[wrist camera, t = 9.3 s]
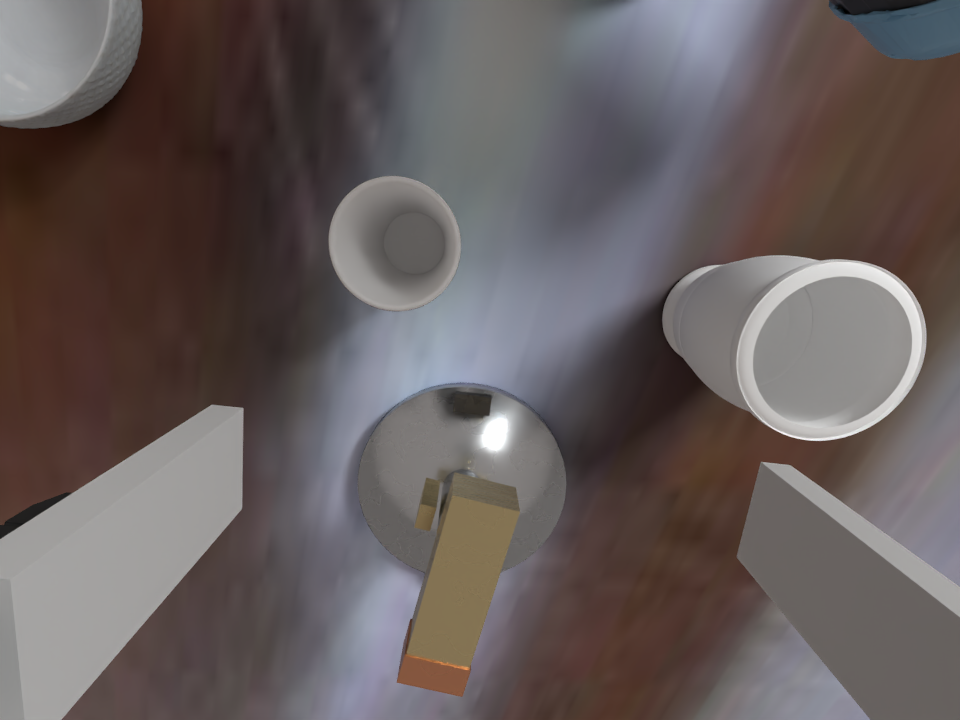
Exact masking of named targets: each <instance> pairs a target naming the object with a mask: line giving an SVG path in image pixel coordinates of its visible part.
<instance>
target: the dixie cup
mask: <svg viewBox="0 0 960 720" xmlns="http://www.w3.org/2000/svg"><path fill="white" fill-rule="evenodd" d="M329 253H330V257H331V261H332V264H333V267H334V269H335V271H336V273H337V275H338V277H339V279H340V280H341V282H342V283H343V284H344V286H345V287H346V288H347V289H348V290H349V291H350V292H351V293H352V294H353V295H354V296H355V297H357V298H358V299H360V300H361V301H363V302H364V303H366V304H368V305H370V306H373V307H375V308H378V309H382V310H387V311H407V310H412V309H416V308H419V307H421V306H424V305H426V304H428V303H430V302H431V301H433V300H434V299H435V298H437V297H438V296H439V295H440V294H441V293H442V292H443V291H444V290H445V289H446V288H447V287H448V285H449V284H450V282H451V281H452V279H453V277H454V275H455V273H456V271H457V268H458V265H459V261H460V255H461V237H460V231H459V227H458V224H457V221H456V219H455V216H454V214H453V212H452V211H451V209H450V207H449V206H448V204H447V203H446V202H445V201H444V199H443V198H442V197H441V196H440V195H439V194H438V193H436V192H435V191H434V190H433V189H431V188H430V187H428V186H427V185H425V184H423V183H421V182H419V181H417V180H414V179H411V178H407V177H402V176H383V177H378V178H374V179H371V180H368V181H366V182H364V183H362V184H360V185H359V186H357V187H356V188H354V189H353V190H352V191H351V192H349V193H348V194H347V195H346V196H345V198H344V199H343V200H342V201H341V203H340V204H339V206H338V207H337V209H336V211H335V213H334V216H333V218H332V221H331V225H330V230H329Z"/></svg>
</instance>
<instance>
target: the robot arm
mask: <svg viewBox="0 0 960 720" xmlns="http://www.w3.org/2000/svg"><path fill="white" fill-rule="evenodd" d="M829 8H830V9H831V10H832V11H833V13H834V14H835V15H836V16H838V17H839V18H840V19H843V20H846V21H849V22H850V23H851V24H852V25H853V26H854V27H855V28H856V29H857V30H858V31H859V32H860V33H861V34H862V35H863V36H864V37H865V38H866V39H867V40H868V41H869V42H870V43H871V44H872V45H873V46H874V47H875V48H876V49H877V50H878V51H879V52H881V53H883V54H885V55H886V56H889V57H891V58H899V59H912V60H927V59H933V58H939V57H944V56H948V55H952V54H955V53H959V52H960V0H829ZM242 473H243V408H239V407H229V406H220V405H211V406H209V407H208V408H206V409H204V410H203V411H201V412H200V413H198V414H197V415H195V416H193V417H192V418H190V419H189V420H187V421H185V422H184V423H182V424H181V425H179V426H178V427H176V428H174V429H173V430H171V431H170V432H168V433H167V434H165V435H163V436H162V437H160V438H159V439H157V440H156V441H154V442H152V443H151V444H149V445H148V446H146V447H145V448H143V449H141V450H140V451H138V452H137V453H135V454H134V455H132V456H130V457H129V458H127V459H126V460H124V461H122V462H121V463H119V464H118V465H116V466H115V467H113V468H111V469H110V470H108V471H107V472H105V473H104V474H102V475H100V476H99V477H97V478H96V479H94V480H93V481H91V482H89V483H88V484H86V485H85V486H83V487H82V488H80V489H78V490H77V491H75V492H74V493H64V494H61V495H59V496H56V497H53V498H51V499H48V500H45V501H42V502H40V503H37V504H34V505H32V506H30V507H29V508H27V509H25V510H24V511H22V512H20V513H19V514H17V515H15V516H14V517H12V518H10V519H9V520H7V521H6V522H5V524H4V525H0V720H61V719H62V718H63V717H64V716H65V715H66V714H67V712H68V711H69V710H70V709H71V708H72V707H73V705H74V704H75V703H76V702H77V701H78V700H79V698H80V697H81V696H82V695H83V694H84V693H85V691H86V690H87V689H88V688H89V687H90V686H91V684H92V683H93V682H94V681H95V680H96V679H97V677H98V676H99V675H100V674H101V673H102V672H103V670H104V669H105V668H106V667H107V666H108V665H109V663H110V662H111V661H112V660H113V659H114V658H115V656H116V655H117V654H118V653H119V652H120V651H121V649H122V648H123V647H124V646H125V645H126V644H127V642H128V641H129V640H130V639H131V638H132V637H133V635H134V634H135V633H136V632H137V631H138V630H139V628H140V627H141V626H142V625H143V624H144V623H145V621H146V620H147V619H148V618H149V617H150V616H151V614H152V613H153V612H154V611H155V610H156V609H157V607H158V606H159V605H160V604H161V603H162V602H163V600H164V599H165V598H166V597H167V596H168V595H169V593H170V592H171V591H172V590H173V589H174V588H175V586H176V585H177V584H178V583H179V582H180V581H181V579H182V578H183V577H184V576H185V575H186V574H187V572H188V571H189V570H190V569H191V568H192V567H193V565H194V564H195V563H196V562H197V561H198V560H199V558H200V557H201V556H202V555H203V554H204V553H205V551H206V550H207V549H208V548H209V547H210V546H211V544H212V543H213V542H214V541H215V540H216V539H217V537H218V536H219V535H220V534H221V533H222V532H223V530H224V529H225V528H226V527H227V526H228V525H229V523H230V522H231V521H232V520H233V519H234V518H235V516H236V515H237V514H238V513H239V512H240V511H241V510H242ZM737 558H738V559H739V560H740V562H741V563H742V564H743V565H744V567H745V568H746V569H747V570H748V571H749V573H750V574H751V575H752V576H753V577H754V579H755V580H756V581H757V582H758V584H759V585H760V586H761V587H762V588H763V590H764V591H765V592H766V593H767V594H768V596H769V597H770V598H771V599H772V601H773V602H774V603H775V604H776V605H777V607H778V608H779V609H780V610H781V611H782V613H783V614H784V615H785V616H786V618H787V619H788V620H789V621H790V622H791V624H792V625H793V626H794V627H795V628H796V630H797V631H798V632H799V633H800V635H801V636H802V637H803V638H804V639H805V641H806V642H807V643H808V644H809V645H810V647H811V648H812V649H813V650H814V652H815V653H816V654H817V655H818V656H819V658H820V659H821V660H822V661H823V662H824V664H825V665H826V666H827V667H828V669H829V670H830V671H831V672H832V673H833V675H834V676H835V677H836V678H837V679H838V681H839V682H840V683H841V684H842V686H843V687H844V688H845V689H846V690H847V692H848V693H849V694H850V695H851V696H852V698H853V699H854V700H855V701H856V703H857V704H858V705H859V706H860V707H861V709H862V710H863V711H864V712H865V713H866V715H867V716H868V717H869V718H870V720H960V587H959V586H958V585H956V584H955V583H953V582H952V581H951V580H949V579H948V578H946V577H945V576H944V575H942V574H941V573H940V572H938V571H937V570H935V569H934V568H933V567H931V566H930V565H928V564H927V563H926V562H924V561H923V560H921V559H920V558H919V557H917V556H916V555H914V554H913V553H912V552H910V551H909V550H907V549H906V548H905V547H903V546H902V545H901V544H899V543H898V542H896V541H895V540H894V539H892V538H891V537H889V536H888V535H887V534H885V533H884V532H882V531H881V530H880V529H878V528H877V527H875V526H874V525H873V524H871V523H870V522H869V521H867V520H866V519H864V518H863V517H862V516H860V515H859V514H857V513H856V512H855V511H853V510H852V509H850V508H849V507H848V506H846V505H845V504H843V503H842V502H841V501H839V500H838V499H836V498H835V497H834V496H832V495H831V494H830V493H828V492H827V491H825V490H824V489H823V488H821V487H820V486H818V485H817V484H816V483H814V482H813V481H811V480H810V479H809V478H807V477H806V476H804V475H803V474H802V473H800V472H799V471H798V470H796V469H795V468H793V467H792V466H791V465H784V464H775V463H765V462H761V464H760V468H759V472H758V476H757V479H756V483H755V487H754V491H753V495H752V499H751V503H750V507H749V511H748V515H747V519H746V523H745V527H744V530H743V534H742V538H741V542H740V546H739V550H738V554H737Z"/></svg>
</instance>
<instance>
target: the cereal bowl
mask: <svg viewBox="0 0 960 720" xmlns="http://www.w3.org/2000/svg"><path fill="white" fill-rule="evenodd" d="M141 5H142V3H141V0H0V125H1V126H5V127H16V128H21V129H24V128H32V129H36V128H48V127H52V126H61V125H64V124H68V123H72V122H74V121H78V120H80V119H82V118H84V117H86V116H89V115H91V114H92V113H93V112H95V111H96V110H99V108H102V107H103V106H104V104H106V103H108V102H109V100H111V99H113V97H114V95H116V94H117V93H118V91H119V90H120V89H121V88H122V85H123V84H124V83H125V82H126V79H127V78H128V76H129V74H130V73H131V71H132V67H133V66H134V65H135V60H136V59H137V53H138V50H139V46H140V44H141V42H140V39H141V32H142V30H143V29H142V20H143V19H142V14H143V12H142V6H141Z"/></svg>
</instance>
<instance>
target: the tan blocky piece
mask: <svg viewBox="0 0 960 720" xmlns="http://www.w3.org/2000/svg"><path fill="white" fill-rule="evenodd" d="M439 487H440V481H438V480H434V479H430V478H426V480H425V484H424V487H423V491H422V494H421V498H420V503H419V507H418V512H417V517H416V522H415V527H414V528H418V529H422V530H426V531H430V529H431V526H432V522H433V519H434V515H435V512H436V508H437V501H438V494H439ZM519 514H520V509H519V503H518V497H517V491H516V487H512V486H508V485H504V484H500V483H496V482H492V481H488V480H484V479H480V478H476V477H472V476H468V475H464V474H460V473H456V472H454V475H453V479H452V482H451V485H450V489H449V492H448V496H447V499H446V503H445V506H444V510H443V513H442V517H441V520H440V524H439V526H438V529H437V534H436V538H435V541H434V545H433V548H432V552H431V555H430V559H429V562H428V566H427V569H426V573H425V576H424V580H423V583H422V586H421V590H420V593H419V597H418V600H417V604H416V607H415V611H414V614H413V618H412V619H410V622H409V626H408V629H407V633H406V636H405V640H404V643H403V649H402V655H401V661H400V666H399V672H398V678H397V683H402V684H406V685H411V686H415V687H420V688H424V689H429V690H433V691H438V692H443V693H447V694H452V695H456V696H461V697H462V696H463V693H464V690H465V687H466V684H467V681H468V678H469V675H470V671H471V662H472V659H473V656H474V653H475V650H476V646H477V643H478V640H479V637H480V634H481V631H482V628H483V625H484V622H485V619H486V616H487V612H488V609H489V606H490V603H491V600H492V597H493V594H494V591H495V588H496V585H497V582H498V578H499V575H500V572H501V569H502V566H503V563H504V560H505V557H506V554H507V551H508V548H509V544H510V541H511V538H512V535H513V532H514V529H515V526H516V523H517V520H518V517H519Z"/></svg>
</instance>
